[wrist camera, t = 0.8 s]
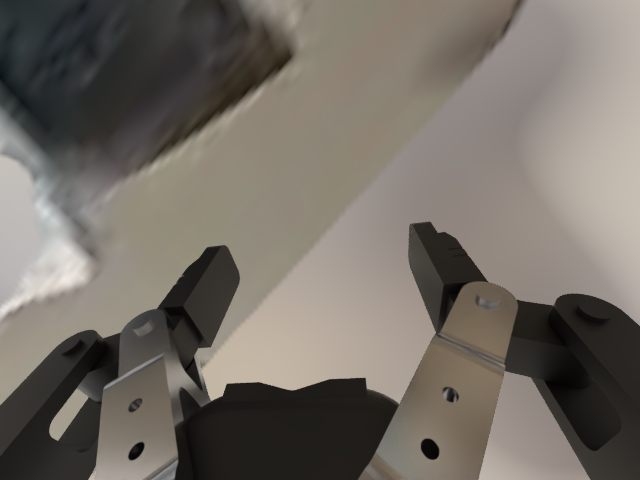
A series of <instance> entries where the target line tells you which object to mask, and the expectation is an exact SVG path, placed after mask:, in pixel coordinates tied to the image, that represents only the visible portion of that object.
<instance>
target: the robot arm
mask: <svg viewBox="0 0 640 480" xmlns="http://www.w3.org/2000/svg"><path fill="white" fill-rule="evenodd" d="M408 257H409V264H410V268H411V271H412V273H413V276H414V278H415V281H416V283H417V286H418V288H419V291H420V293H421V296H422V298H423V301H424V303H425V306H426V309H427V311H428V313H429V316H430V319H431V321H432V324H433V326H434V328H435V331H436V334H435V336H434V337H433V338H432V340H431V342H430V344H429V346H428V348H427V350H426V352H425V354H424V356H423V358H422V360H421V362H420V364H419V366H418V368H417V370H416V372H415V374H414V376H413V378H412V380H411V382H410V384H409V386H408V388H407V390H406V392H405V394H404V396H403V398H402V400H401V402H400V404H399V403H397V402H396V401H394V400H393V399H391V398H389V397H388V396H386V395H384V394H381V393H379V392H376V391H373V390H369V389H367V387H366V379H365V378H350V379H329V380H326V381H323V382H320V383H317V384H314V385H310V386H307V387H304V388H301V389H298V390H293V391H291V390H286V389H282V388H278V387H275V386H271V385H267V384H263V383H259V382H257V383H234V384H227V385H226V388H225V391H224V394H223V396H222V397H219V398H217V399H215V400H213V401H211V400H210V397H209V395H208V391H207V388H206V384H205V381H204V377H203V373H202V370H201V366H200V363H199V359H198V357H197V356H196V354H195V353H196V351H197V349H198V348H207V347H211V346H212V343H213V341H214V339H215V337H216V334H217V332H218V330H219V328H220V325H221V323H222V321H223V319H224V316H225V314H226V312H227V310H228V307H229V305H230V303H231V301H232V298H233V296H234V294H235V292H236V289H237V287H238V285H239V281H240V276H239V271H238V269H237V267H236V264H235V262H234V260H233V258H232V255H231V253H230V251H229V249H228V247H227V246H225V245H222V246H213V247H207V248H206V249H205V251H204V252H203V254H202V255H201V256H200V258H199V259H197V260H196V261H195V262H194V263H192V264H191V265H190V266H189V267H188V268H187V269H186V270H185V272H184V273H183V274H182V277H180V278H179V280H178V281H177V282H176V283H177V284H175V285H174V286H173V288H172V289H171V291H170V292H169V293H168V295H167V296H166V297H165V299H164V300H163V301H162V303H161V304H160V305H159V307H158V308H157V309H153V310H149V311H146V312H144V313H142V314H140V315H138V316H137V317H135V318H134V319H132V320H131V321H130V322H129V323H128V324H127V325H126V326H125V327H124V329H123V330H122V332H121V333H118V334H115V335H112V336H109V337H106V338H102V337H101V336H100V335H99V334H98V333H97V332H96V331H94V330H86V331H82V332H80V333H77V334H75V335H73V336H71V337H70V338H68V339H66V340H65V341H63V342H62V343H61V344H60V345H58V346H57V347H56V348H55V349H54V350H53V351H52V352H51V353H50V354H49V355H48V356H47V357H46V358H45V359H44V360H43V361H42V363H41V364H40V365H39V366H38V367H37V368H36V369H35V370H34V371H33V372H32V373H31V374H30V375H29V376H28V377H27V378H26V379H25V380H24V381H23V382H22V383H21V384H20V386H19V387H18V388H17V389H16V390H15V391H14V392H13V393H12V394H11V395H10V396H9V397H8V398H7V399H6V400H5V401H4V402H3V403H2V404H1V405H0V480H88V479H89V477H90V475H91V474H92V472H93V470H94V468H95V467H96V470H95V480H478V479H479V474H480V470H481V466H482V462H483V458H484V454H485V450H486V446H487V441H488V438H489V434H490V429H491V425H492V421H493V417H494V413H495V409H496V405H497V401H498V397H499V393H500V389H501V384H502V380H503V376H504V372H505V371H508V372H511V373H515V374H520V375H524V376H528V377H531V378H532V380H533V382H534V383H535V385H536V387H537V388H538V390H539V392H540V394H541V395H542V397H543V399H544V400H545V402H546V404H547V406H548V407H549V409H550V411H551V412H552V414H553V416H554V418H555V419H556V421H557V423H558V424H559V426H560V428H561V430H562V431H563V433H564V435H565V436H566V438H567V440H568V442H569V443H570V445H571V447H572V449H573V450H574V452H575V454H576V455H577V457H578V459H579V461H580V462H581V464H582V466H583V467H584V469H585V471H586V472H587V474H588V476H589V478H590V479H591V480H640V326H639V325H638V324H637V323H636V322H634V321H633V320H632V319H631V318H630V317H629V316H628V315H627V314H625V313H624V312H623V311H622V310H621V309H619V308H617V307H616V306H614V305H612V304H611V303H608V302H606V301H604V300H602V299H599V298H596V297H593V296H589V295H584V294H566V295H562V296H560V297H559V298H557V300H556V302H555V304H554V306H552V305H545V304H538V303H531V302H525V301H519V300H516V299H515V297H514V296H513V295H512V294H511V293H510V292H509V291H508V290H506V289H504V288H503V287H501V286H499V285H496V284H493V283H489V282H488V281H487V280H486V278H485V277H484V276H483V274H482V273H481V272H480V270H479V269H478V268H477V266H476V265H475V264H474V262H473V261H472V260H471V258H470V257H469V256H468V254H467V253H466V251H465V250H464V249H462V247H461V245H460V244H459V242H458V241H457V239H456V238H454V237H452V236H451V235H449V234H447V233H445V232H442V233H437V231H436V230H435V228H434V227H433V225H432V224H431V222H422V223H414V224H410V227H409V250H408ZM76 388H77V389H79V390H80V391H81V392H83V393H84V394H85V395H87V396H88V397H89V398H88V399H87V401H86V402H85V404H84V405H83V407H82V408H81V409H80V411H79V412H78V414H77V415H76V416H75V418H74V419H73V421H72V422H71V424H70V425H69V426H68V428H67V429H66V431H65V432H64V434H63V435H62V436H61V438H60V439H59V441H57V440H55V439H53V438H52V437H51V436H50V434H49V428H50V424H51V422H52V420H53V418H54V417H55V416H56V414H57V413H58V412H59V410H60V409H61V408H62V407H63V405H64V404H65V403H66V401H67V400H68V399H69V397H70V396H71V395H72V393H73V392H74V391H75V390H76Z"/></svg>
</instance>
